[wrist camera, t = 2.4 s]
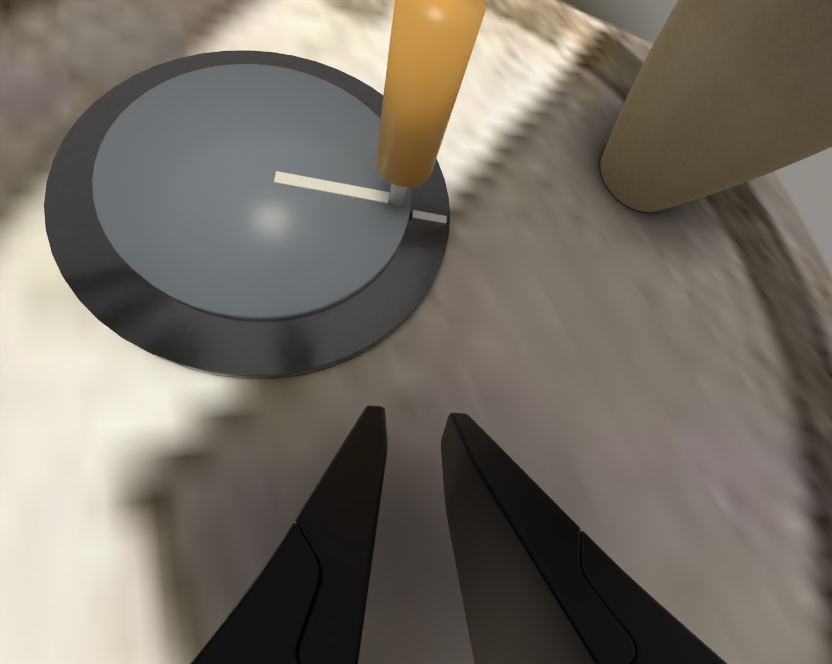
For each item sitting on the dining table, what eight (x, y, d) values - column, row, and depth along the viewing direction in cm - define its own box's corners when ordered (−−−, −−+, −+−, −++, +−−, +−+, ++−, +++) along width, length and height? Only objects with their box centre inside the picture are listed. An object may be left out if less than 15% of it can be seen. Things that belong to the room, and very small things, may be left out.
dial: (57, 299, 18) (-435, 57, 7) (156, 54, 24) (-21, -313, 12) (407, 340, 22) (484, 223, 10) (424, 115, 27) (485, -131, 15)
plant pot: (582, 88, 34) (770, -186, 19) (713, 161, 35) (992, -48, 20) (538, 199, 29) (748, -58, 14) (692, 281, 30) (1048, 121, 15)
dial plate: (274, 467, 20) (268, 470, 18) (-37, 195, 20) (-68, 174, 19) (503, 211, 28) (512, 197, 26) (275, 26, 29) (271, 1, 27)
